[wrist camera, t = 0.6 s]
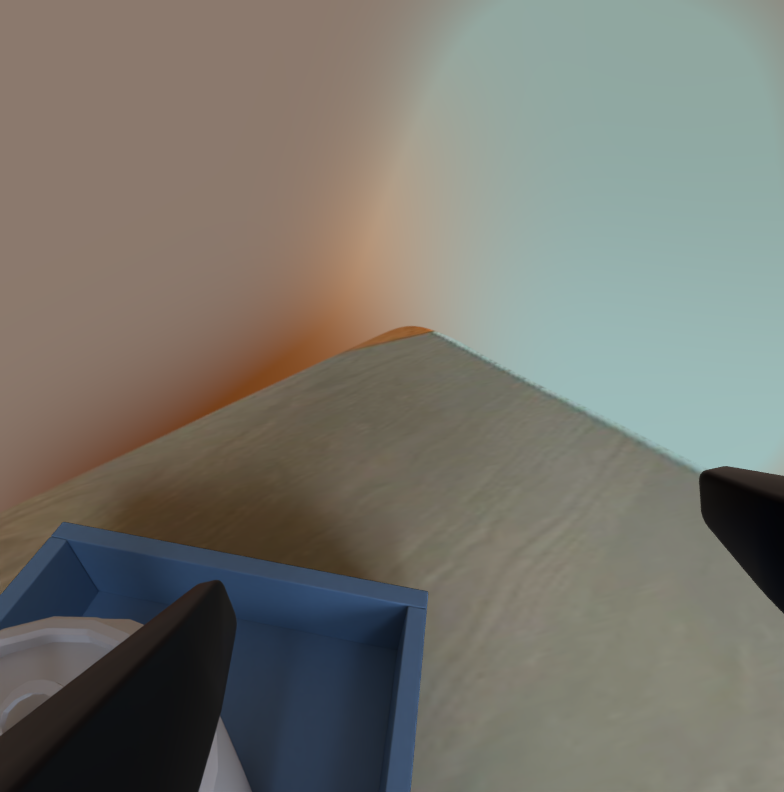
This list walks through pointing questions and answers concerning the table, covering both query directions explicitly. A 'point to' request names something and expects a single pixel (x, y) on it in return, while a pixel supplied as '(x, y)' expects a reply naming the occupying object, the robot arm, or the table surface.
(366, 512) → the table surface
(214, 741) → the can
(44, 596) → the tub
